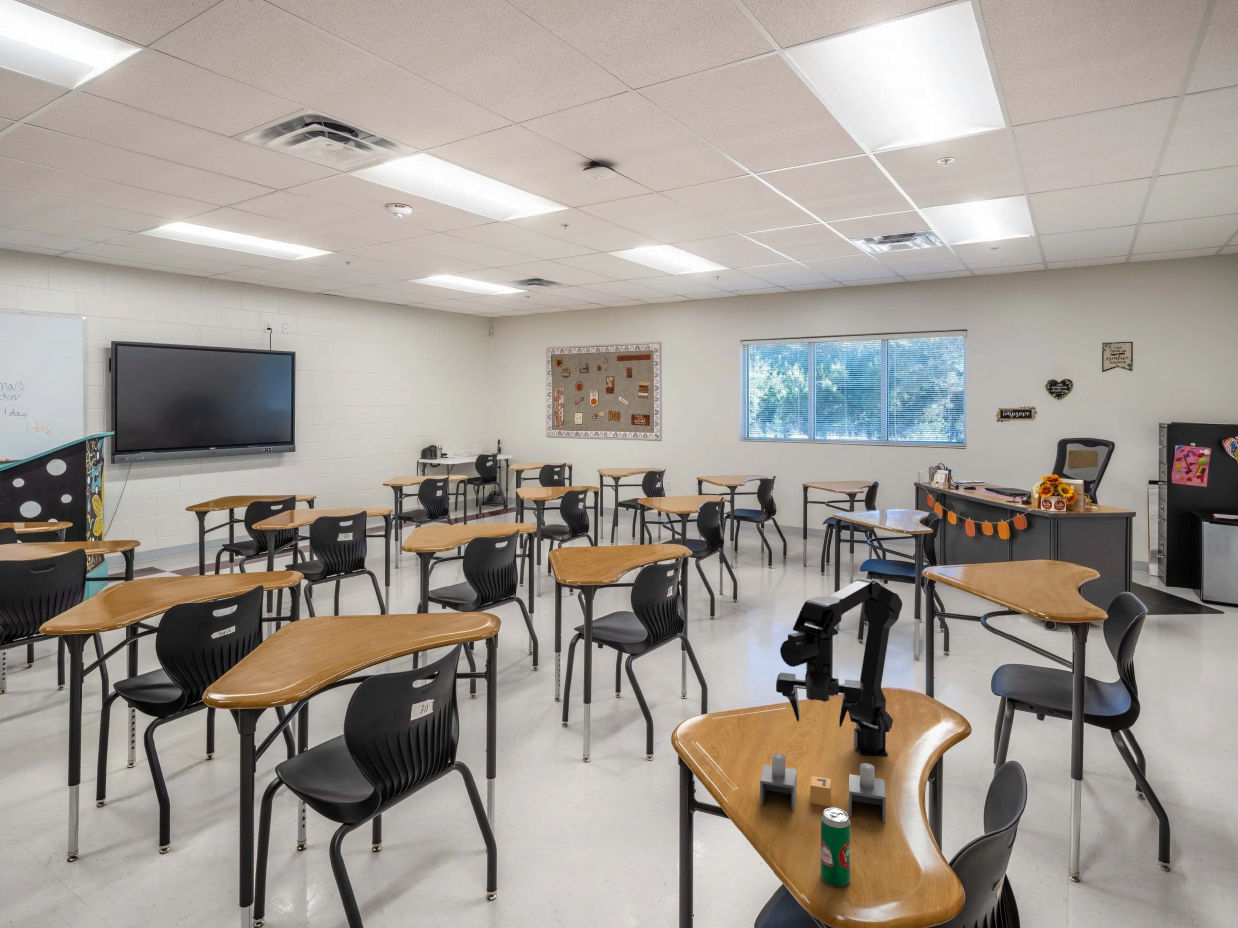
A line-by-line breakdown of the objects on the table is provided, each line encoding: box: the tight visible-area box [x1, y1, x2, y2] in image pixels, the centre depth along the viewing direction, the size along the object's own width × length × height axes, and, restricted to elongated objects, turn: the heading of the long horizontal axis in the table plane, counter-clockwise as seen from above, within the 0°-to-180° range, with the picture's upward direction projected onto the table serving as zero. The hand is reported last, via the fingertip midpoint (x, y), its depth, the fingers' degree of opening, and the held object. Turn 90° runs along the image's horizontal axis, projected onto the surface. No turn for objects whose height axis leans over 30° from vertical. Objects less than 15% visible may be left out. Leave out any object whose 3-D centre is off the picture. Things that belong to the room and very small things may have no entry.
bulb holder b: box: [759, 753, 798, 812], centre depth 146 cm, size 7×7×10 cm
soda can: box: [820, 807, 852, 888], centre depth 121 cm, size 5×5×12 cm
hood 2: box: [848, 762, 887, 824], centre depth 142 cm, size 7×7×10 cm
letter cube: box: [809, 775, 832, 807], centre depth 146 cm, size 4×4×4 cm
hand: (819, 723), depth 155 cm, fingers open, 9 cm apart
